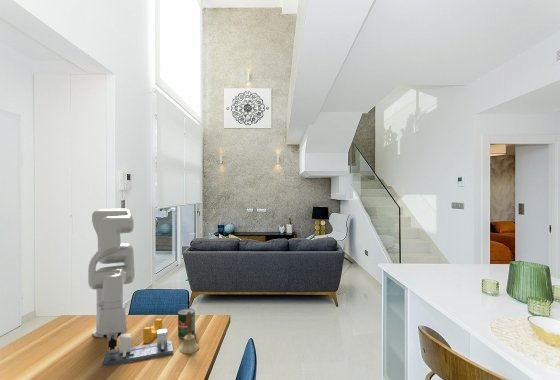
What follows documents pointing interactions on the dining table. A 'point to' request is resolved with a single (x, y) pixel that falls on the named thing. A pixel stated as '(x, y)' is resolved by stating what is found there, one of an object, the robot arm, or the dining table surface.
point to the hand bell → (189, 338)
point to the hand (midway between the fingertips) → (112, 348)
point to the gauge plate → (141, 351)
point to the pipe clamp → (151, 331)
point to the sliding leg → (125, 343)
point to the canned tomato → (182, 322)
